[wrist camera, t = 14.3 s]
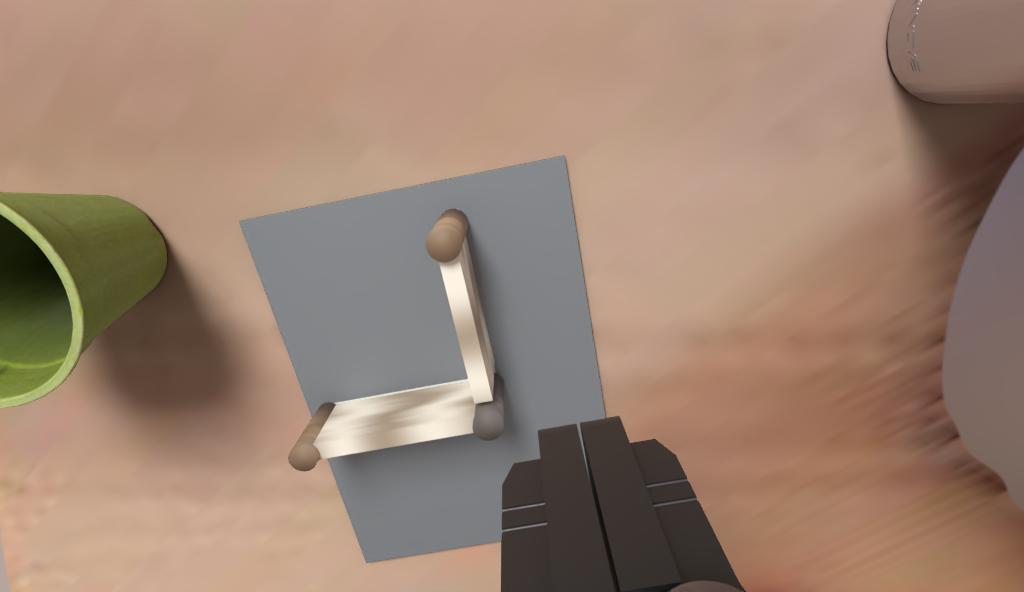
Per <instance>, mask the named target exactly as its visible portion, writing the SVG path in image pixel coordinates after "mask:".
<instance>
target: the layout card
mask: <svg viewBox="0 0 1024 592" xmlns="http://www.w3.org/2000/svg"><path fill="white" fill-rule="evenodd" d="M448 209H457V210H461V211H462V212H463V213H465V215H466V216H467V218H468V221H469V227H468V230H467V233H466V239H467V243H468V248H469V252H470V256H471V261H472V265H473V270H474V274H475V278H476V283H477V287H478V291H479V296H480V300H481V304H482V309H483V313H484V318H485V322H486V326H487V331H488V335H489V339H490V344H491V348H492V352H493V357H494V361H495V364H494V373H497V374H499V375H500V376H501V377H502V378H503V380H504V430H503V433H502V435H501V436H500V437H499V438H497V439H495V440H492V441H485V440H482V439H480V438H478V437H477V436H476V435H475V434H474V433H470V434H464V435H458V436H453V437H447V438H441V439H435V440H429V441H424V442H418V443H412V444H406V445H401V446H395V447H389V448H383V449H378V450H372V451H366V452H360V453H354V454H349V455H343V456H337V457H331V458H327V459H328V461H329V464H330V467H331V469H332V472H333V475H334V477H335V480H336V483H337V485H338V488H339V491H340V494H341V496H342V499H343V502H344V504H345V507H346V510H347V512H348V515H349V518H350V520H351V523H352V526H353V528H354V531H355V534H356V536H357V539H358V542H359V544H360V547H361V550H362V553H363V555H364V558H365V561H366V563H369V562H375V561H381V560H387V559H393V558H400V557H406V556H412V555H418V554H424V553H430V552H436V551H443V550H449V549H455V548H461V547H467V546H473V545H479V544H486V543H492V542H498V541H502V484H503V482H504V480H505V479H506V477H507V475H508V473H509V471H510V469H511V467H512V466H513V464H514V463H518V462H524V461H530V460H536V459H540V449H539V439H538V430H542V429H547V428H553V427H559V426H565V425H570V424H577V428H578V432H579V436H580V441H581V445H582V450H583V454H584V458H585V463H586V457H585V451H584V446H583V440H582V434H581V428H580V423H581V422H587V421H593V420H598V419H604V418H606V417H605V410H604V404H603V397H602V391H601V385H600V378H599V372H598V366H597V359H596V353H595V346H594V340H593V334H592V327H591V321H590V314H589V308H588V302H587V295H586V289H585V283H584V276H583V270H582V263H581V257H580V251H579V244H578V238H577V232H576V225H575V219H574V212H573V206H572V200H571V193H570V187H569V180H568V174H567V168H566V161H565V156H559V157H554V158H549V159H544V160H540V161H535V162H530V163H525V164H520V165H515V166H510V167H505V168H500V169H495V170H490V171H485V172H480V173H475V174H470V175H465V176H460V177H455V178H450V179H445V180H440V181H435V182H430V183H425V184H420V185H415V186H410V187H406V188H401V189H396V190H391V191H386V192H381V193H376V194H371V195H366V196H361V197H356V198H351V199H346V200H341V201H336V202H331V203H326V204H321V205H316V206H311V207H306V208H301V209H296V210H291V211H286V212H281V213H277V214H272V215H267V216H262V217H257V218H252V219H247V220H242V221H239V223H240V225H241V228H242V231H243V233H244V236H245V239H246V241H247V244H248V247H249V249H250V252H251V255H252V257H253V260H254V263H255V266H256V268H257V271H258V274H259V276H260V279H261V282H262V284H263V287H264V290H265V292H266V295H267V298H268V300H269V303H270V306H271V308H272V311H273V314H274V317H275V319H276V322H277V325H278V327H279V330H280V333H281V335H282V338H283V341H284V343H285V346H286V349H287V351H288V354H289V357H290V359H291V362H292V365H293V367H294V370H295V373H296V376H297V378H298V381H299V384H300V386H301V389H302V392H303V394H304V397H305V400H306V402H307V405H308V408H309V410H310V413H311V416H312V418H313V416H314V414H315V413H316V411H317V410H318V408H319V407H320V405H322V404H323V403H327V402H331V403H334V404H341V403H347V402H353V401H358V400H364V399H369V398H375V397H381V396H386V395H392V394H397V393H403V392H409V391H414V390H420V389H425V388H431V387H437V386H442V385H448V384H453V383H459V382H464V381H469V380H468V376H467V372H466V368H465V364H464V360H463V356H462V352H461V348H460V344H459V340H458V336H457V332H456V328H455V324H454V320H453V316H452V312H451V308H450V304H449V300H448V296H447V292H446V288H445V284H444V281H443V277H442V273H441V269H440V265H439V262H438V261H436V260H434V259H433V258H432V257H431V256H430V255H429V254H428V252H427V250H426V239H427V237H428V235H429V233H430V232H431V230H432V229H433V227H434V226H435V224H436V222H437V221H438V219H439V218H440V216H441V215H442V213H444V212H445V211H446V210H448ZM586 467H587V463H586ZM587 472H588V468H587ZM588 476H589V474H588Z"/></svg>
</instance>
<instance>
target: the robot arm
mask: <svg viewBox="0 0 1024 592" xmlns="http://www.w3.org/2000/svg"><path fill="white" fill-rule="evenodd" d="M887 42H888V56H889V60H890V63H891V67H892V70H893V72H894V74H895V76H896V77H897V79H898V81H899V83H900V84H901V85H902V86H903V87H904V88H905V89H906V90H907V91H908V92H909V93H910V94H912V95H914V96H916V97H917V98H919V99H921V100H923V101H927V102H931V103H935V104H976V103H1024V0H897V2H896V4H895V7H894V10H893V13H892V16H891V19H890V23H889V31H888V38H887ZM580 428H581V434H582V440H583V446H584V451H585V457H586V463H587V467H586V463H585V458H584V454H583V450H582V445H581V441H580V436H579V432H578V428H577V424H570V425H565V426H559V427H553V428H547V429H542V430H538V439H539V449H540V459H536V460H530V461H524V462H518V463H514V464H513V466H512V467H511V469H510V471H509V473H508V475H507V477H506V479H505V480H504V482H503V484H502V542H501V592H746V591H745V590H744V589H743V587H742V586H741V584H740V583H739V581H738V579H737V577H736V575H735V573H734V571H733V569H732V567H731V565H730V563H729V561H728V559H727V557H726V555H725V553H724V551H723V549H722V547H721V545H720V543H719V541H718V539H717V537H716V535H715V533H714V531H713V529H712V527H711V525H710V523H709V521H708V519H707V517H706V515H705V513H704V511H703V509H702V507H701V505H700V503H699V501H697V498H696V495H695V493H694V491H693V489H692V487H691V485H690V483H689V482H688V481H687V477H686V475H685V473H684V471H683V469H682V467H681V465H680V463H679V461H678V459H677V457H676V455H675V454H673V453H672V452H671V451H670V450H668V449H667V448H666V447H664V446H663V445H662V444H661V443H659V442H658V441H657V440H655V439H652V440H646V441H640V442H634V443H629V440H628V437H627V435H626V432H625V429H624V427H623V424H622V421H621V419H620V417H619V416H616V417H610V418H604V419H598V420H593V421H587V422H581V423H580ZM587 468H588V472H587ZM588 474H589V476H588Z"/></svg>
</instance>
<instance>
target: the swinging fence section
mask: <svg viewBox="0 0 1024 592" xmlns="http://www.w3.org/2000/svg"><path fill="white" fill-rule="evenodd" d="M503 430H504V380H503V378H502V377H501V376H500V375H499V374H497V373H494V386H493V401H488V402H482V403H476V404H474V400H473V396H472V392H471V388H470V384H469V381H464V382H459V383H453V384H448V385H442V386H437V387H431V388H425V389H420V390H414V391H409V392H403V393H397V394H392V395H386V396H381V397H375V398H369V399H364V400H358V401H353V402H347V403H341V404H334V403H331V402H327V403H323V404H322V405H320V407H319V408H318V410H317V411H316V413H315V414H314V416H313V418H312V419H311V421H310V422H309V424H308V425H307V427H306V429H305V430H304V432H303V433H302V435H301V436H300V438H299V440H298V441H297V443H296V444H295V446H294V447H293V449H292V450H291V452H290V454H289V457H288V460H289V463H290V464H291V466H292V467H293V468H295V469H297V470H299V471H309V470H311V469H313V468H314V467H315V465H316V463H317V461H318V460H320V459H326V458H331V457H337V456H343V455H349V454H354V453H360V452H366V451H372V450H378V449H383V448H389V447H395V446H401V445H406V444H412V443H418V442H424V441H429V440H435V439H441V438H447V437H453V436H458V435H464V434H470V433H474V434H475V435H476V436H477V437H478V438H480V439H482V440H485V441H492V440H495V439H497V438H499V437H500V436H501V435H502V433H503Z"/></svg>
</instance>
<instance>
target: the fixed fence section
mask: <svg viewBox="0 0 1024 592" xmlns="http://www.w3.org/2000/svg"><path fill="white" fill-rule="evenodd" d="M468 227H469V221H468V218H467V216H466V215H465V213H463V212H462V211H461V210H457V209H448V210H446V211H445V212H444V213H442V215H441V216H440V218H439V219H438V221H437V222H436V224H435V226H434V227H433V229H432V230H431V232H430V233H429V235H428V237H427V239H426V250H427V252H428V254H429V255H430V256H431V257H432V258H433V259H434V260H436V261H438V262H439V265H440V269H441V273H442V277H443V281H444V284H445V288H446V292H447V296H448V300H449V304H450V308H451V312H452V316H453V320H454V324H455V328H456V332H457V336H458V340H459V344H460V348H461V352H462V356H463V360H464V364H465V368H466V372H467V376H468V380H469V384H470V388H471V392H472V396H473V400H474V404H476V403H482V402H488V401H493V386H494V364H495V361H494V357H493V352H492V348H491V344H490V339H489V335H488V331H487V326H486V322H485V318H484V313H483V309H482V304H481V300H480V296H479V291H478V287H477V283H476V278H475V274H474V270H473V265H472V261H471V256H470V252H469V248H468V243H467V239H466V233H467V230H468Z"/></svg>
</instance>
